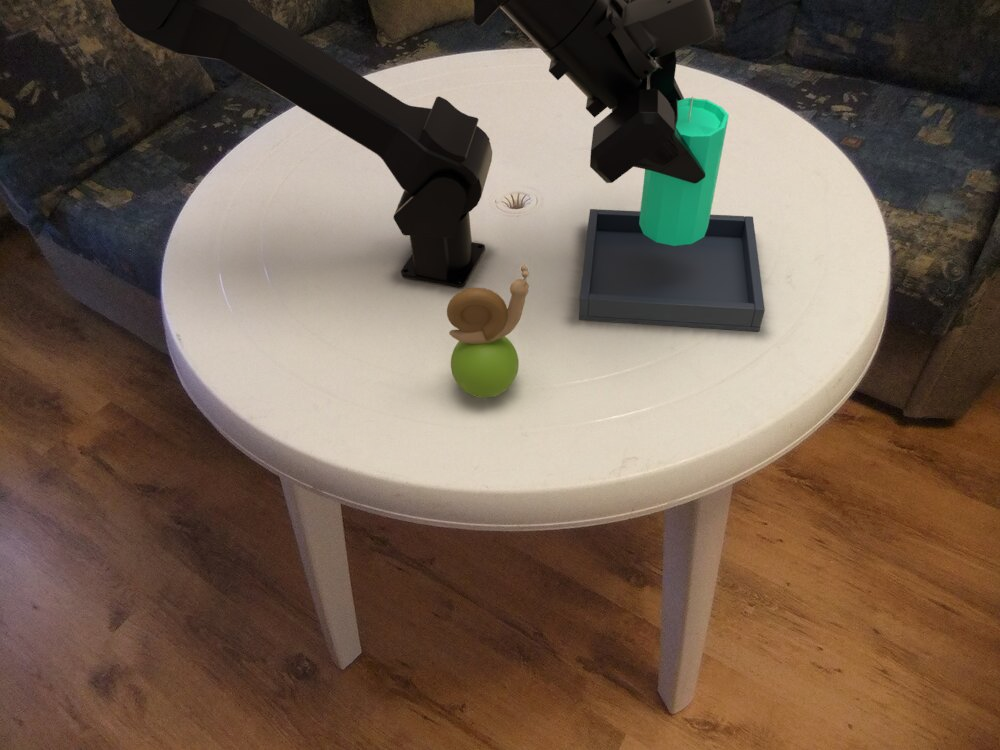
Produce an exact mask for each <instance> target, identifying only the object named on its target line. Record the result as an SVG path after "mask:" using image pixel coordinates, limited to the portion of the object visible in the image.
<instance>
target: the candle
mask: <svg viewBox="0 0 1000 750" xmlns="http://www.w3.org/2000/svg"><path fill="white" fill-rule="evenodd" d="M669 104H670V103H669ZM729 118H730V117H729V113H728V112H727V111H726V110H725V109H724V108H723V107H722V106H720V105H718V104H716V103H714V102H712V100H709V99H704V98H694V96H691V97H686V98H684V99H682V100H679V101H678V121H677V124H676V128H677V130H678V131H679V133H680V134H681V136H682V137H683V139H684V140H685V142H686V143H687V145H688V147H689V148H690V150H691V151H692V153H693V154H694V156H695V157H696V159H697V160H698V162H699V163H700V165H701V166H702V168H703V170H704V171H705V178H703V179H702V180H701V181H699V182H698V183H691V182H688V181H684V180H681V179H678V178H674V177H671V176H668V175H664V174H661V173H657V172H654V171H651V170H646V169H644V174H643V185H642V193H641V201H640V210H639V211H640V220H639V225H640V227H641V229H642V232H643V234H644V235H646V236H647V237H649V238H650V239H652V240H654V241H655V242H657V243H662V244H667V245H672V246H678V245H687V244H693V243H694V242H696V241H698V240H700V239H701V238H703V237H704V236H705V233H706V231H707V228H708V224H709V219H710V215H711V213H712V207H713V202H714V197H715V191H716V186H717V181H718V176H719V175H718V174H719V169H720V164H721V159H722V153H723V148H724V143H725V137H726V132H727V127H728V121H729Z"/></svg>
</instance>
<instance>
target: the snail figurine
mask: <svg viewBox="0 0 1000 750" xmlns="http://www.w3.org/2000/svg"><path fill="white" fill-rule="evenodd" d="M520 271H521V277H522V278H523V279H522V278H517V279H515V280H513V281H512V282H511V283H510V286H509V292H510V295H511V296H510V299H509V303H508V306H507V304H506V302H505V300H504V299H503V297H501V296H500V294H498V293H497V292H495V291H493V290H491V289H489V288H485V287H469V288H466V289H463V290H461V291H458V292H457V293H456V294H454V295H453V296H452V298H451V299H450V300H449V302H448V304H447V308H446V316H447V319H448V321H449V323H450V324H451V325H452V326H453V327H454V328H456V329H451V330H449V332H448V333H449V335H450V336H451V337H452V338H453V339H455V340H457V341H458V342H457V343H456V345H455V346H454V348H453V350H452V353H451V357H450V370H451V374H452V377H453V379H454V381H455V383H456V384H457V386H458V387H460V389H461V390H463V391H464V392H466V394H469V395H471V396H474V397H477V398H492V397H496V396H498V395H501V394H502V393H504V392H506V391H507V390H508V389H509V388H510V387H511V386H512V385H513V383H514V382H515V379H516V377H517V375H518V371H519V356H518V352H517V350H516V348H515V346H514V344H513V342H511V340H510V339H509V338H508V337H507V336H509V334H511V332H513V331H514V330H515V328H516V327H517V326H518V324H519V322H520V320H521V317H522V314H523V311H524V307H525V304H526V298H527V295H528V294H529V288H530V284H529V283H528V282H527V279H528V277H529V271H528V265H526V264H522V265H521V266H520Z"/></svg>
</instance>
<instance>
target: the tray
mask: <svg viewBox="0 0 1000 750" xmlns="http://www.w3.org/2000/svg"><path fill="white" fill-rule="evenodd" d="M640 211H641V210H622V209H621V210H620V209H618V210H617V209H599V208H597V209H596V208H589V213H588V222H587V231H586V239H585V247H584V248H585V249H584V256H583V265H582V274H581V282H580V290H579V302H578V320H579V321H589V322H590V321H593V322H606V323H607V322H609V323H624V324H640V325H651V326H652V325H653V326H655V325H656V326H670V327H683V328H684V327H685V328H687V327H688V328H700V329H717V330H733V331H746V332H748V331H749V332H760V330H761V325H762V322H763V319H764V314H765V311H766V307H765V302H764V301H765V300H764V293H763V284H762V278H761V277H762V276H761V269H760V261H759V260H760V259H759V255H758V254H759V253H758V246H757V239H756V238H757V237H756V230H755V229H756V228H755V222H754V216H753V215H751V216H750V215H732V214H730V215H729V214H710V219H709V224H708V228H707V231H706V233H705V236H704V237H703V238H701V239H700V240H698V241H696V242H694V243H693V244H687V245H678V246H672V245H667V244H662V243H657V242H655V241H654V240H652V239H650V238H649V237H647V236H646V235H644V234H643V232H642V229H641V227H640V225H639V220H640Z"/></svg>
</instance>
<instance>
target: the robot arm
mask: <svg viewBox="0 0 1000 750" xmlns="http://www.w3.org/2000/svg"><path fill="white" fill-rule="evenodd" d="M110 3H111V5H112V6H113V9H114V10H115V12H116V14H117V15H116V17H117V20H118V21H119V22H120V23H121V24H122V25H123V27H125V28H126V29H127V30H128V31H130V32H131V33H132V34H134V35H135V36H137V37H139V38H141V39H144V40H145V41H148V42H151V43H153V44H155V45H157V46H159V47H162V48H164V49H166V50H168V51H171V52H173V53H175V54H178V55H183V56H190V57H196V58H204V59H210V60H216V61H217V60H218V61H220V62H223V63H226V64H227V65H229V66H231V67H232V68H234V69H236V70H237V71H239V72H241V73H243V74H244V75H246V76H248V78H250V79H252V80H254V81H256V82H257V83H259V84H260V85H262V86H263V87H265V88H267V89H269V90H270V91H272V92H273V93H275V94H277V95H278V96H280V97H281V98H283V99H285V100H286V101H288V102H290V103H292V104H293V105H295V106H297V107H298V108H300V109H301V110H303V111H305V112H306V113H308V114H309V115H311V116H313V117H314V118H316V119H318V120H319V121H321V122H323V123H325V124H326V125H328V126H329V127H330V128H333V129H334V130H336V131H337V132H339V133H340V134H343V136H346V137H347V138H349V139H350V140H351V141H352V140H353V141H354V142H356V143H357V144H359V145H361V146H362V147H364V148H366V149H367V150H369V151H370V152H372V153H373V154H375V155H376V156H377V157H379V158H380V159H381V160H382V161H383V163H384V164H385V166H386V167H387V169H388V170H389V171H390V174H391V175H392V176H393V178H394V179H395V180H396V182H397V183H398V185H399V186H400V187H401V189H402V190H403V193H402V194H401V197H400V199H399V201H398V204H397V207H396V209H395V212H394V213H393V220H394V222H395V224H396V226H397V227H398V229H399V231H400V233H401V235H403V236H409V240H410V248H411V255H410V256H409V257H408V259H407V261H406V262H405V264H404V266H403V267H402V268H401V270H400V275H401V277H402V278H405V279H410V280H415V281H421V282H426V283H430V284H436V285H441V286H445V287H446V286H447V287H452V288H455V289H456V288H457V289H463V288H464V287H465V286H466V285H467V284H468V281H469V280H470V278H471V276H472V275H473V272H474V271H475V269H476V268H477V266H478V264H479V263H480V260H481V259H482V257H483V256H484V253H485V252H486V245H485V244H483V243H479V242H473V241H472V230H471V218H470V213H471V212H472V211H473V210H474V209H475V208H476V207H477V206H478V204H479V203H480V200H481V198H482V195H483V192H484V188H485V186H486V182H487V178H488V174H489V172H490V168H491V166H492V165H491V164H492V160H493V149H492V145H491V142H490V141H491V140H490V137H489V136H488V135H487V132H485V131H484V130H483V129H482V128H481V127H479V126H478V123H479V118H478V117H475V116H472V115H468V114H466V113H464V112H462V111H461V110H459V109H458V108H456V106H454V105H453V104H452V103H451V102H449V100H447V99H446V98H444V97H442V96H436V97H435V98H434V102H433V104H432V105H431V108H430V107H422V106H414V105H409V104H407V103H405V102H403V101H402V100H400V99H398V98H397V97H395V96H394V95H392V94H390V93H388V92H387V91H385V90H384V89H383V88H381V87H379V85H377V84H375V83H373V82H372V81H370V80H368V79H367V78H365V76H362V75H360V74H359V73H357V72H356V71H354V70H353V69H351V68H350V67H348V66H347V65H345V64H344V63H342V62H341V61H339V60H338V59H335V58H334V57H333V56H331V55H329V54H328V53H326V52H324V51H323V50H322V49H320V48H318V47H317V46H316V45H313V44H312V43H311V42H309V41H307V40H306V39H304V38H302V37H301V36H299V34H297V33H295V32H293V30H290V29H288V28H287V27H286V26H284V25H282V24H280V23H279V22H278V21H276V20H274V19H273V18H271V16H269V15H267V14H265V13H263V12H262V11H261V10H259V9H257V8H256V7H255V6H253V5H252V4H251V2H250V1H249V0H110ZM498 9H500V10H502V11H503V13H505V14H506V15H507V16H508V17H509V19H511V20H512V21H513V23H514V24H516V26H517V27H518V28H519V29H520V30H521V31H522V32H523V33H524V34H525V35H526V36H527V37H528V38H529V39H530V40H531V41H532V42H533V43H534V44H535V45H536V46H537V47H538V48H539V49H540V50H541V51H542V52H543V53H544V54H545V55H546V56H547V57H548V58H549V60H550V62H549V66H548V72H549V73H550V74H551V75H552V76H553V77H554V78H555V80H557V81H560V79H561V78H563V76H566V77H567V78H568V79H569V80H570V81H571V82H572V83H573V84H574V85H575V86H576V87H577V88H578V89H579V90H580V91H581V92H582V93H583V94H584V95H585V96H586V104H585V110H586V111H587V112H588V113H589V114H590V115H591V116H592V117H593V118H596V117H598V115H600V114H601V113H602V112H604V111H605V110H606V109H607V108H608V109H609V110H611V112H610V113H609V114H608V115H607V116H605V117H604V118H602V120H600V121H599V122H598V123H596V124H595V125H594V126H593V130H592V137H591V147H590V160H589V168H591V169H592V170H593V171H594V172H595V173H596V174H597V175H598V176H599V177H600V178H601V179H602V180H603V181H604V182H605V183H606V184H613V183H614V182H615V181H617V180H618V179H619V178H621V177H622V176H623V175H625V174H626V173H628V172H629V171H630V170H631V169H632V168H638V169H643V170H645V169H646V170H651V171H654V172H657V173H661V174H664V175H668V176H671V177H674V178H678V179H681V180H684V181H688V182H691V183H698V182H699V181H701V180H702V179H703V178H705V171H704V170H703V168H702V166H701V165H700V163H699V162H698V160H697V159H696V157H695V156H694V154H693V153H692V151H691V150H690V148H689V147H688V145H687V143H686V142H685V140H684V139H683V137H682V136H681V134H680V133H679V131H678V130H677V128H676V124H677V121H678V101H679V100H682V99H685V97H684V95H683V93H682V91H681V89H680V87H679V84H678V83H677V80H676V78H675V77H676V70H677V55H678V54H677V51H679V50H680V49H681V50H682V49H683V48H686V47H688V46H691V45H695V46H698V45H700V44H703V43H705V42H707V41H709V40H710V39H712V38H713V37H714V36H715V34H716V27H715V19H714V18H715V13H714V11H713V8H712V5H711V1H710V0H633V1H631V2H629V3H627V2H626V1H625V0H473V19H472V20H473V24H474V25H475V26H477V27H481V26H483V25H484V24H485V23H486V22H487V21H488V20H489V19H490V18H491V17H492V15H493V14H494V13H496V11H497V10H498ZM669 103H670V104H669Z"/></svg>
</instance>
